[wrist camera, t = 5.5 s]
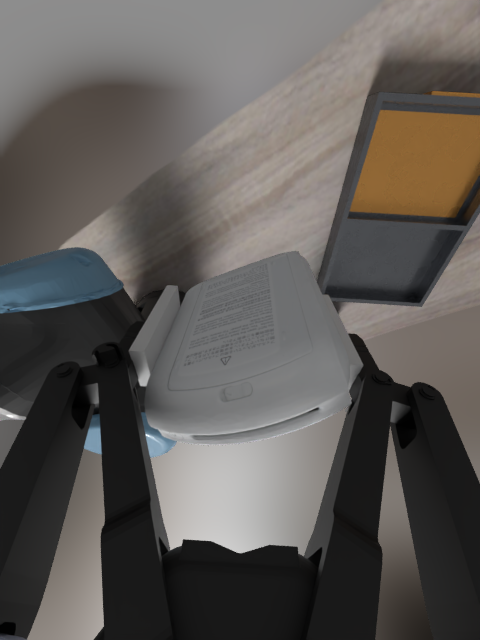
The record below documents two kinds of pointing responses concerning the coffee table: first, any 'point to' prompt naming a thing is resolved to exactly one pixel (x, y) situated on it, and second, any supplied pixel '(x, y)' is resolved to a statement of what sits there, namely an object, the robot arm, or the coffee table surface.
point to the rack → (404, 198)
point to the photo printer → (249, 358)
